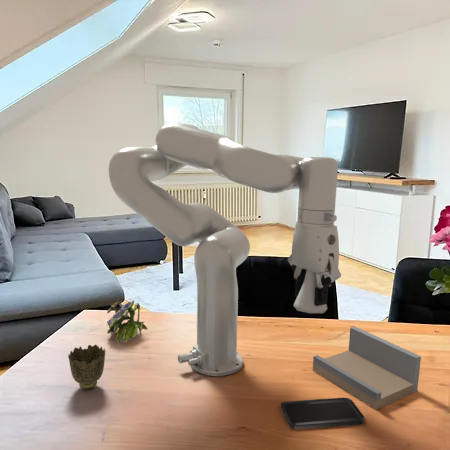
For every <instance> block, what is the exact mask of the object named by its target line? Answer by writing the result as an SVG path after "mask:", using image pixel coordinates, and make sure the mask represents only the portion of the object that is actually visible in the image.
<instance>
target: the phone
mask: <svg viewBox="0 0 450 450" xmlns="http://www.w3.org/2000/svg"><path fill="white" fill-rule="evenodd" d="M280 410H281V412H282V415H283V417H284V419H285V422H286V424H287V426H288V427H289V428H290V429H291V430H309V429H321V428H322V429H323V428H336V427H347V426H349V427H351V426H362V425H364V424H365V422H366V418H365V416H364V414H363V413H362V412H361V410H360V409H359V407H358V406H357V404H356V403H355V402H354V401H353V400H352V399H351V398H349V397H334V398H318V399H304V400H303V399H302V400H288V401H285V400H284V401H282V402H281V403H280Z"/></svg>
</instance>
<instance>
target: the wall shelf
mask: <svg viewBox="0 0 450 450" xmlns="http://www.w3.org/2000/svg"><path fill="white" fill-rule="evenodd" d="M349 328H350V330H349V339H348V350H346V351H342V352H340V353H337V354H333V355H330V356H328V357H321V356H320V355H319V354H316V355H313V357H312V358H313V359H312V360H313V361H312V371H313V372H315V373H317V374H318V375H320V376H321V377H322V378H325V379H326V380H327V381H330V382H331V383H333V384H334V385H336V386H337V387H338V388H341V389H342V390H344V391H345V392H347V393H349V394H350V395H352V396H353V397H355V398H357V399H358V400H360V401H361V402H363V403H365V404H366V405H367V406H369V407H371V409H374V410H379V409H381V408H383V407H385V406H388V405H390V404H392V403H394V402H396V401H398V400H401V399H403V398H405V397H407V396H410V395H411V394H413V393H416V392H418V388H419V380H420V379H419V378H420V368H421V360H422V356H421V355H419V354H418V353H417V354H416V353H414V352H413V351H410V350H408V349H405V348H403V347H401V346H399V345H397V344H394V343H392V342H390V341H388V340H387V339H384V338H381V337H380V336H377V335H374V334H372V333H371V332H368V331H366V330H364V329H361V328H359V327H357V326H355V325H354V326H351V327H349Z"/></svg>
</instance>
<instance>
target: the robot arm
mask: <svg viewBox="0 0 450 450" xmlns="http://www.w3.org/2000/svg"><path fill="white" fill-rule="evenodd" d="M338 164H339V163H338V161H337V159H336V158H334V157H324V156H307V157H301V156H293V155H289V154H288V155H287V154H274V153H270V152H266V151H262V150H259V149H255V148H251V147H248V146H245V145H242V144H240V143H237V142H235V141H234V140H233V139H232V138H231V137H229V136H227V135H223V134H219V133H215V132H211V131H208V130H204V129H201V128H198V127H197V126H195V125H194V124H193V125H191V124H186V123H181V122H169V123H166V124H164V125H163V126H162V127H160V129H158V131H157V133H156V136H155V145H153V146H150V147H149V146H147V147H146V146H129V147H125V148H122V149H119V150H118V151H116V152H115V153H114V154H113V155H112V157H111V159H110V160H109V165H108V177H109V183H110V184H111V187H112V190H113V191H114V193H115V194H116V196H117V197H118V199H119V200H120V201H121V202H123V204H125V205H126V206H127V207H129V209H131V210H132V211H134V212H135V213H136V214H138V216H140V217H141V218H143V219H144V220H145V221H146V222H147V223H148V224H150V225H151V226H152V227H153V228H154V229H156V230H157V231H158V232H160V233H161V234H162V235H163V236H165V237H166V238H167V239H168V240H169V241H171V242H172V243H173V244H175V245H177V246H180V247H187V246H190V245H193V244H195V243H198V245H197V246H196V249H195V252H194V260H193V261H194V270H195V271H194V272H195V275H196V276H195V278H196V296H197V297H196V301H197V302H196V303H197V305H196V306H197V307H196V311H197V312H196V344H193V345H192V350H190V351H189V352H187V353H186V352H185V353H182V354H178V355H177V362H178V363H179V364H183V363H188V366H191V368H192V369H193V370H194V371H195V372H197V373H199V374H201V375H206V376H209V377H224V376H229V375H233V374H235V373H237V372H238V371H240V369H241V368H242V367H243V364H244V362H243V361H244V360H243V358H244V357H243V356H242V355H241V354H240V353H239V352H237V346H238V316H239V315H238V311H239V310H238V309H239V307H238V306H239V304H238V303H239V301H238V300H239V287H238V279H237V268H238V266H240V265H241V264H242V263H244V261H245V260H246V259H247V258H248V256H249V254H250V251H251V245H250V240H249V238H248V237H247V235H246V234H245V233H244V232H243V231H242V230H241V229H240V228H239V227H238V226H236V225H235V224H234V223H232V222H231V221H230V220H228V219H227V218H226V217H225V216H223V215H222V214H220V212H218V211H217V210H216V209H214V208H213V207H211V206H209V205H207V204H205V203H202V202H191V203H184V202H182V201H180V200H179V199H177V198H176V197H174V196H173V195H172V194H171V193H170V192H169V191H168V190H166V189H164V188H162V187H161V186H159V185H156V184H155V183H153V182H157V181H160V180H162V179H164V178H166V177H168V176H170V175H172V174H173V173H175V172H177V171H179V170H181V169H182V168H184V167H186V166H189V167H192V168H196V169H199V170H202V171H205V172H209V173H212V174H214V175H215V174H216V175H217V176H219V177H221V178H225V179H227V180H229V181H231V182H234V183H236V184H239V185H243V186H246V187H249V188H252V189H255V190H258V191H261V192H265V193H271V194H280V193H282V192H285V191H289V190H298V205H297V220H296V222H295V225H294V226H295V227H294V230H293V237H292V241H291V242H292V244H291V254H290V255H289V257H288V258H287V262H288V263H289V265H290V266H291V270H292V272H293V278H294V279H295V291H294V296H295V297H296V298H297V296H298V294H299V292H300V290H301V287H302V285H303V282H304V279H305V275H306V270H308V271H311V272H314V273H316V279H317V285H318V287H315V298H314V305H316V306H320V305H324V304H326V305H327V304H328V295H329V287H331V286H332V284H333V283H334V282H336V281H337V280H338V279H341V277H342V274H341V271H340V269H339V267H340V266H339V264H340V241H339V231H338V226H337V225H335V222H336V221H337V218H338V217H337V215H335V213H336V212H335V211H336V203H337V202H336V201H337V199H336V198H337V185H338V175H339V174H338V173H339V171H338V170H339V165H338Z"/></svg>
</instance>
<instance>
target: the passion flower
mask: <svg viewBox="0 0 450 450" xmlns="http://www.w3.org/2000/svg"><path fill="white" fill-rule="evenodd" d="M119 303H120V302H119V301H117V302H114V304H112V305H111V306H110V307H109V308H108V309H107V314H109V313H111V312H112V311H113V310H114V312H115V313H114V314H113V315H112V317H110V319H108V320H107V321H106V323H107V324H106V327H107V326H108V330H107V332H106V334H110V333H112V334H115V333H116V342H117V343H118V344H119V345H121V342H122V340H123V342H124V343H127V341H129V340H130V339H134V337H135V336H136V335H137V333H138V331H139V333H140V335H142V331H143V330H148V327H147V326H146V325H145V321H140V309H141V305H140V304H139V302H138V301H137V302H136V303H135V300H131V301H128V302H126V303H125V304H123V305H122V307H120V309H117V308H116V307H117V305H119ZM134 303H135V304H134ZM136 310H138V311H137V320H135V315H136ZM124 321H125V322H124Z"/></svg>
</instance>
